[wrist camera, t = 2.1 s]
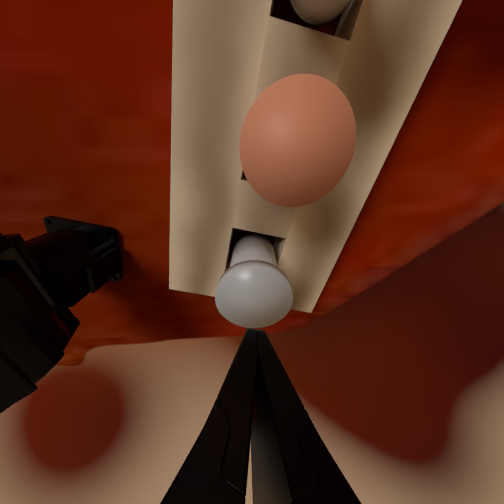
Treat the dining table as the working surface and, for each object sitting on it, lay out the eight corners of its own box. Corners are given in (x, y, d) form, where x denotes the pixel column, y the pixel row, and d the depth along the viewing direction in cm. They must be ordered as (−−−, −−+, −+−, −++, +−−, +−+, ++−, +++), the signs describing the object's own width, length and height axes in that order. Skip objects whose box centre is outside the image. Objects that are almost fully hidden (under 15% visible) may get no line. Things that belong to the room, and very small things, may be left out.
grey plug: (223, 271, 17) (210, 321, 12) (232, 224, 15) (220, 260, 10) (272, 279, 18) (280, 332, 12) (286, 235, 15) (304, 275, 10)
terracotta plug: (239, 180, 14) (230, 195, 8) (252, 102, 12) (252, 56, 6) (300, 193, 14) (328, 216, 9) (323, 121, 12) (378, 93, 7)
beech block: (183, 266, 21) (169, 288, 17) (206, -165, 9) (178, -360, 6) (302, 287, 22) (311, 312, 19) (451, -69, 11) (550, -182, 7)
